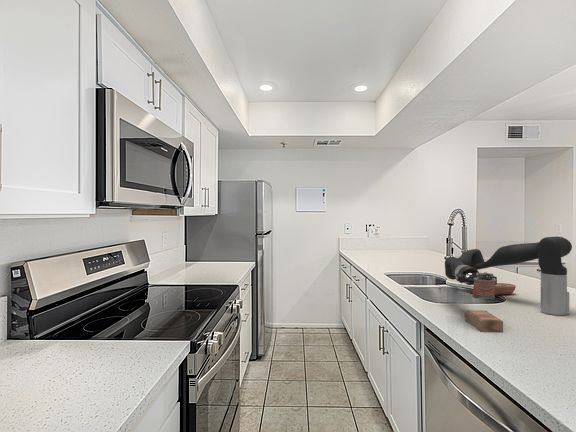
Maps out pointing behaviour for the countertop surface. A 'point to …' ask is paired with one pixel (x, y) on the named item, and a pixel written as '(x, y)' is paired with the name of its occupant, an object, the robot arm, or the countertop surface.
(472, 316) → the wooden block
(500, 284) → the mitochondrion cross-section
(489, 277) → the lighter
